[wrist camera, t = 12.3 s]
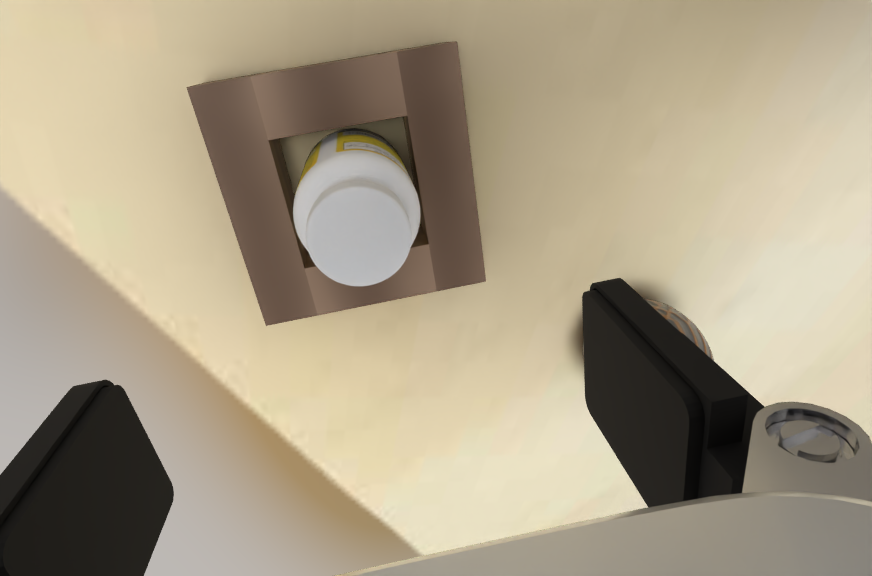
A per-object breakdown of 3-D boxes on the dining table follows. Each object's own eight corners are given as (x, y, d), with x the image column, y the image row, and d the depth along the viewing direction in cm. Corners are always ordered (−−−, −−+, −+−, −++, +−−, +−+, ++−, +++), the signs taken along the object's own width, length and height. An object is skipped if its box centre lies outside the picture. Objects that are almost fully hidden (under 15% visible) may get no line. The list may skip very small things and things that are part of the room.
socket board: (446, 42, 26) (456, 41, 24) (474, 261, 32) (485, 281, 29) (203, 83, 26) (186, 87, 23) (273, 301, 31) (266, 325, 28)
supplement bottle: (333, 242, 30) (326, 324, 21) (285, 153, 28) (254, 204, 19) (421, 203, 30) (450, 269, 21) (380, 109, 27) (393, 140, 19)
